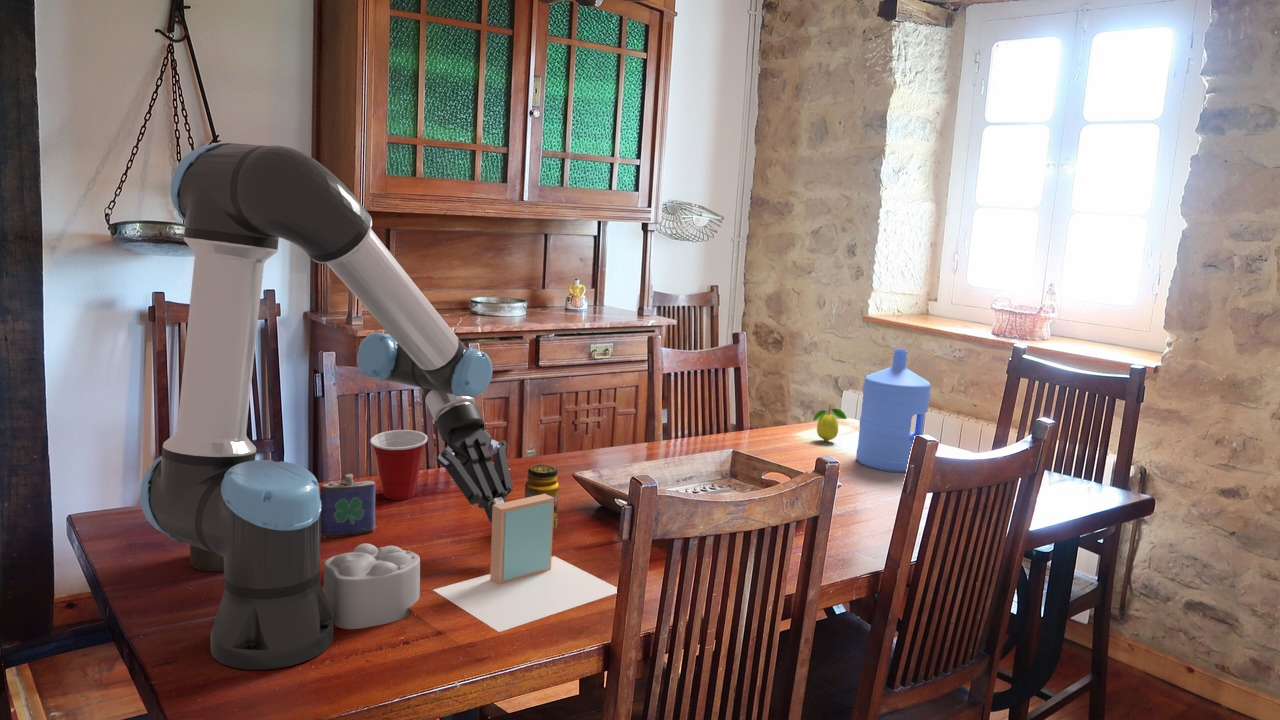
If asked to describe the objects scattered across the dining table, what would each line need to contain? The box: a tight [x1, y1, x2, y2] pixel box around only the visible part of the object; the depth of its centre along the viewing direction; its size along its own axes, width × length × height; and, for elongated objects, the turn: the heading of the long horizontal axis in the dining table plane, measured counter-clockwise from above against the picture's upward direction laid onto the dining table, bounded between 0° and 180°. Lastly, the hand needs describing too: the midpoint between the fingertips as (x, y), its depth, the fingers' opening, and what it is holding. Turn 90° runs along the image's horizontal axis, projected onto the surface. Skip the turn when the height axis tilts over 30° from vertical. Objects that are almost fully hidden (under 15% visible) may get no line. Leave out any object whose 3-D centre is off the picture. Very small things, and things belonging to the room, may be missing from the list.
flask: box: [319, 473, 376, 538], centre depth 164 cm, size 9×3×11 cm, turn 116°
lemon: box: [812, 404, 848, 443], centre depth 247 cm, size 7×6×10 cm
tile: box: [489, 494, 554, 585], centre depth 147 cm, size 10×3×12 cm, turn 134°
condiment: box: [524, 464, 560, 531], centre depth 169 cm, size 7×8×12 cm
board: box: [432, 555, 618, 633], centre depth 143 cm, size 23×17×1 cm
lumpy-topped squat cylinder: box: [323, 543, 421, 630], centre depth 136 cm, size 10×13×9 cm
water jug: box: [855, 348, 932, 473], centre depth 228 cm, size 16×16×28 cm
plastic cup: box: [370, 429, 428, 501], centre depth 184 cm, size 11×11×12 cm
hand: (509, 537), depth 152 cm, fingers closed
